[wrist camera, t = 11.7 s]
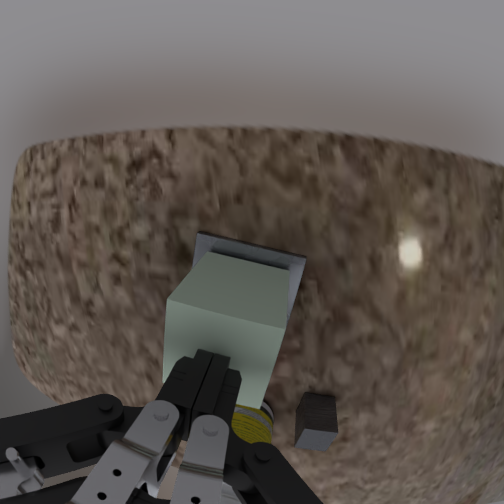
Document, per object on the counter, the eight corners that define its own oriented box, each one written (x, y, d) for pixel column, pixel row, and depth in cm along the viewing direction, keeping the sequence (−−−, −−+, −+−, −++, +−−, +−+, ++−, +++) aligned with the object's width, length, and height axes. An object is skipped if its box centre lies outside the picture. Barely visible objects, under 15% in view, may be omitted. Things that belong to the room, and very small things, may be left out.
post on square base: (306, 256, 19) (310, 310, 13) (279, 344, 22) (271, 415, 15) (199, 231, 20) (154, 271, 13) (187, 321, 22) (150, 381, 16)
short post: (334, 397, 23) (338, 432, 19) (324, 416, 24) (325, 451, 20) (305, 392, 23) (304, 428, 19) (296, 411, 24) (294, 447, 20)
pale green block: (289, 270, 19) (285, 329, 13) (270, 339, 21) (259, 409, 14) (207, 251, 19) (167, 299, 13) (197, 320, 21) (162, 382, 15)
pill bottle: (212, 379, 24) (171, 490, 13) (284, 400, 24) (271, 516, 13) (200, 421, 26) (165, 516, 16) (262, 439, 26) (245, 537, 15)
